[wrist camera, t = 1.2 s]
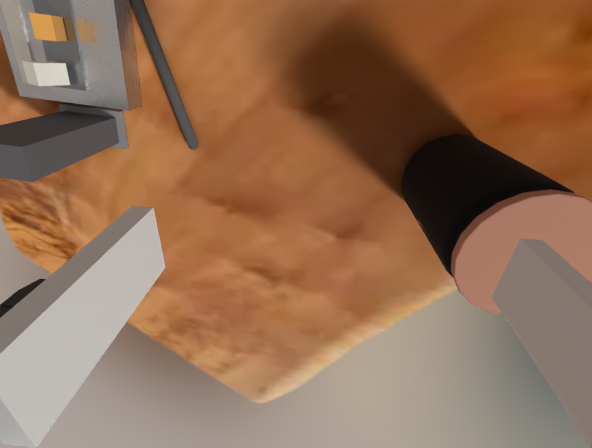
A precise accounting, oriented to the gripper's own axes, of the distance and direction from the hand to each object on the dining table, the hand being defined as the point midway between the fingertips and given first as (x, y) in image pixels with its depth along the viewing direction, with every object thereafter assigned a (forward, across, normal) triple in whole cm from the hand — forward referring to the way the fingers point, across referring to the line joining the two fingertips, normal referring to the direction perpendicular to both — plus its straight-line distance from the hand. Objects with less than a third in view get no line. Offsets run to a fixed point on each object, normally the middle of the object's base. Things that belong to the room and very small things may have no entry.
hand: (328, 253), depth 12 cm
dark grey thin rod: (+28, -18, +3) cm, 33 cm away
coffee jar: (+28, +15, -6) cm, 33 cm away
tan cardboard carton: (+24, -27, +7) cm, 37 cm away
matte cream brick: (+24, -27, +3) cm, 37 cm away
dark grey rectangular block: (+27, -28, -3) cm, 39 cm away
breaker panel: (+28, -27, +7) cm, 39 cm away
